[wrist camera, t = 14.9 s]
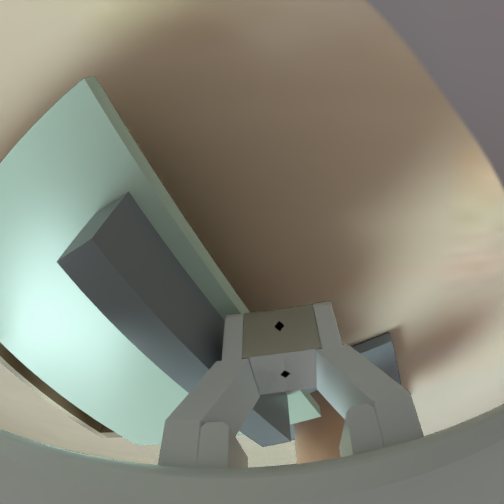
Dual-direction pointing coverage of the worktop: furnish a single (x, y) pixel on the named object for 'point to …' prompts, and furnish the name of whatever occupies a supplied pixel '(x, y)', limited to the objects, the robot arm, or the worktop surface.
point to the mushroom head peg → (319, 434)
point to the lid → (113, 278)
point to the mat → (374, 359)
